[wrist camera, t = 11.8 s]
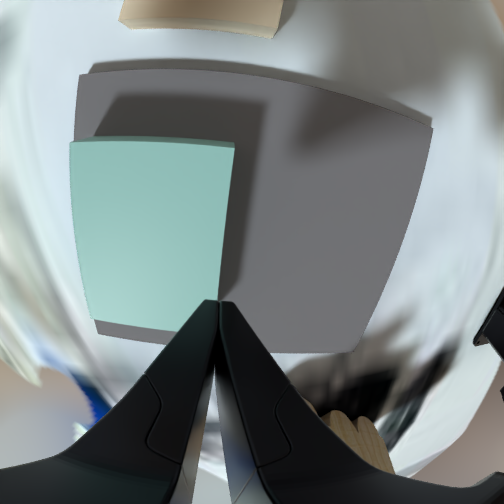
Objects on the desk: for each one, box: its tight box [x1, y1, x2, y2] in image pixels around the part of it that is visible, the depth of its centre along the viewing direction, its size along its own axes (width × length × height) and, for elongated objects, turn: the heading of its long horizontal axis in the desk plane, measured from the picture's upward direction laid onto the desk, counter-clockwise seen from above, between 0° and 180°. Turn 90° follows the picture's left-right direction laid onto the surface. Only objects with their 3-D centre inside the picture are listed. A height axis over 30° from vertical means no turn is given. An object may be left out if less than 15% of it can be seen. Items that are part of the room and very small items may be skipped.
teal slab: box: [70, 136, 235, 332], centre depth 11 cm, size 2×8×6 cm
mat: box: [74, 69, 433, 353], centre depth 13 cm, size 16×14×1 cm
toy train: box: [302, 397, 395, 474], centre depth 18 cm, size 6×17×10 cm, turn 50°
